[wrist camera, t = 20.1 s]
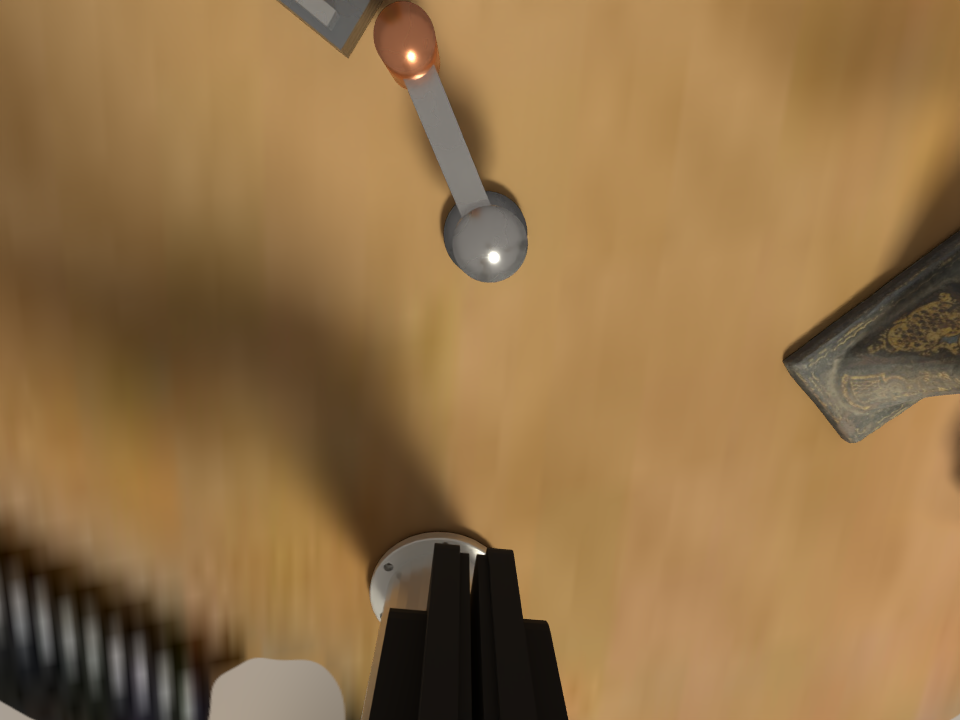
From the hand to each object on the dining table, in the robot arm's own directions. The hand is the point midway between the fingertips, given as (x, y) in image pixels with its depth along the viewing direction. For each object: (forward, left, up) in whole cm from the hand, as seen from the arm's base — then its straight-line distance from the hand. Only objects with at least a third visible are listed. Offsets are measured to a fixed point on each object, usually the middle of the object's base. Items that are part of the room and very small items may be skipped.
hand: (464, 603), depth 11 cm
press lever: (+7, -8, -25) cm, 27 cm away
